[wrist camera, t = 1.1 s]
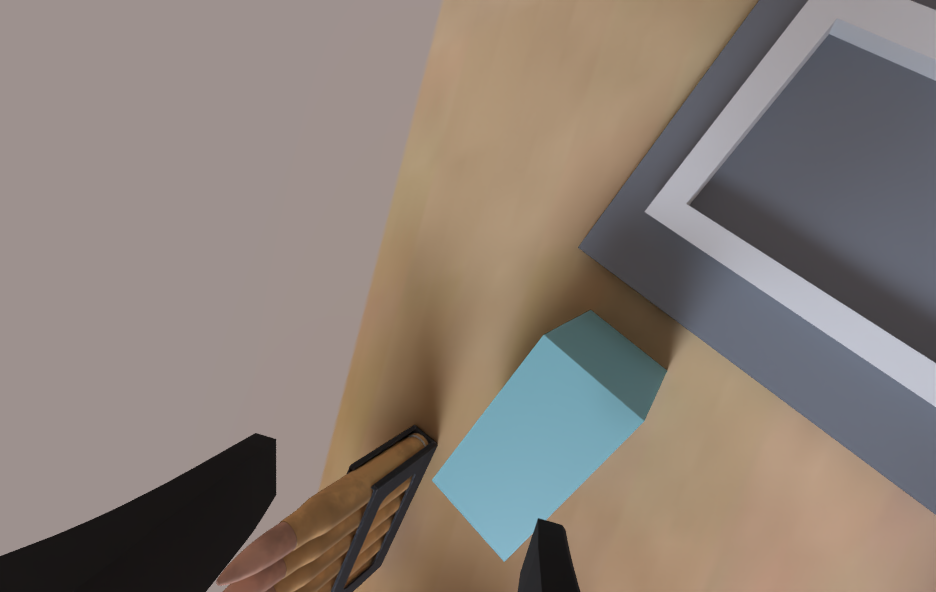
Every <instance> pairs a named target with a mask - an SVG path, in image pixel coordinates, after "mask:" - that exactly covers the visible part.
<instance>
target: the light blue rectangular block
mask: <svg viewBox="0 0 936 592" xmlns="http://www.w3.org/2000/svg"><path fill="white" fill-rule="evenodd" d="M666 372H667V370H666V369H664V368H663V367H662V366H661V365H659V364H658V363H657V362H656V361H654V360H653V359H652V358H651V357H649V356H648V355H647V354H646V353H644V352H643V351H642V350H641V349H639V348H638V347H637V346H636V345H634V344H633V343H632V342H630V341H629V340H628V339H627V338H625V337H624V336H623V335H622V334H620V333H619V332H618V331H617V330H615V329H614V328H613V327H612V326H610V325H609V324H608V323H607V322H605V321H604V320H603V319H602V318H600V317H599V316H598V315H597V314H595V313H594V312H593V311H592V310H589V311H588V312H586V313H584V314H582V315H580V316H578V317H576V318H574V319H572V320H571V321H569V322H567V323H565V324H563V325H561V326H559V327H557V328H555V329H553V330H552V331H550V332H548V333H546V334H544V335H543V336H542V338H541V339H540V340H539V341H538V343H537V344H536V345H535V347H534V348H533V349H532V351H531V352H530V353H529V354H528V356H527V357H526V358H525V360H524V361H523V362H522V364H521V365H520V366H519V367H518V369H517V370H516V371H515V373H514V374H513V375H512V377H511V378H510V379H509V380H508V382H507V383H506V384H505V386H504V387H503V388H502V390H501V391H500V392H499V393H498V395H497V396H496V397H495V399H494V400H493V401H492V403H491V404H490V405H489V406H488V408H487V409H486V410H485V412H484V413H483V414H482V416H481V417H480V418H479V419H478V421H477V422H476V423H475V425H474V426H473V427H472V429H471V430H470V431H469V432H468V434H467V435H466V436H465V438H464V439H463V440H462V442H461V443H460V444H459V446H458V447H457V448H456V449H455V451H454V452H453V453H452V455H451V456H450V457H449V459H448V460H447V461H446V462H445V464H444V465H443V466H442V468H441V469H440V470H439V472H438V473H437V474H436V475H435V477H434V478H433V479H432V481H433V482H434V483H435V484H436V486H437V487H438V488H439V489H440V490H441V491H442V492H443V493H444V495H445V496H446V497H447V498H448V499H449V500H450V501H451V502H452V504H453V505H454V506H455V507H456V508H457V509H458V510H459V511H460V513H461V514H462V515H463V516H464V517H465V518H466V519H467V520H468V522H469V523H470V524H471V525H472V526H473V527H474V528H475V529H476V531H477V532H478V533H479V534H480V535H481V536H482V537H483V539H484V540H485V541H486V542H487V543H488V544H489V545H490V546H491V548H492V549H493V550H494V551H495V552H496V553H497V554H498V555H499V557H500V558H501V559H502V560H503V561H504V562H505V561H506V560H507V559H508V558H509V557H510V556H511V555H512V554H513V553H514V551H515V550H516V549H517V548H518V547H519V546H520V545H521V544H522V543H523V542H524V541H525V540H526V539H527V538H528V537H529V536H530V535H531V534H532V533H533V532H534V529H535V526H536V523H537V520H538V518H540V519H543V520H546V519H547V518H548V517H549V516H550V515H551V514H552V513H553V512H554V511H555V510H556V509H557V508H558V507H559V506H560V505H561V504H562V503H563V502H564V501H565V500H566V499H567V498H568V497H569V496H570V495H571V494H572V493H573V492H574V491H575V490H576V489H577V488H578V487H579V486H580V485H581V484H582V483H583V482H584V481H585V480H586V479H587V478H588V477H589V476H590V475H591V474H592V473H593V472H594V471H595V470H596V469H597V468H598V467H599V466H600V465H601V464H602V463H603V462H604V461H605V460H606V459H607V458H608V457H609V456H610V455H611V454H612V453H613V452H614V451H615V450H616V449H617V448H618V447H619V446H620V445H621V444H622V443H623V442H624V441H625V440H626V439H627V438H628V437H629V436H630V435H631V434H632V433H633V432H634V431H635V430H636V429H637V428H638V427H639V426H640V425H641V424H642V423H643V422H644V421H645V418H646V416H647V414H648V412H649V410H650V407H651V405H652V403H653V401H654V399H655V396H656V394H657V392H658V390H659V387H660V385H661V383H662V381H663V379H664V376H665V374H666Z"/></svg>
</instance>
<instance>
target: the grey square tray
mask: <svg viewBox="0 0 936 592" xmlns="http://www.w3.org/2000/svg"><path fill="white" fill-rule="evenodd" d="M578 248H579V249H581V250H582V251H583V252H585V253H586V254H587V255H589V256H590V257H591V258H593V259H594V260H595V261H597V262H598V263H599V264H601V265H602V266H603V267H605V268H606V269H607V270H609V271H610V272H612V273H613V274H614V275H616V276H617V277H618V278H620V279H621V280H622V281H624V282H625V283H626V284H628V285H629V286H630V287H632V288H633V289H634V290H636V291H637V292H638V293H640V294H641V295H642V296H644V297H645V298H646V299H648V300H649V301H650V302H652V303H653V304H654V305H656V306H657V307H658V308H660V309H661V310H662V311H664V312H665V313H666V314H668V315H669V316H670V317H672V318H673V319H674V320H676V321H677V322H678V323H680V324H681V325H682V326H684V327H685V328H686V329H688V330H689V331H691V332H692V333H693V334H695V335H696V336H697V337H699V338H700V339H701V340H703V341H704V342H705V343H707V344H708V345H709V346H711V347H712V348H713V349H715V350H716V351H717V352H719V353H720V354H721V355H723V356H724V357H725V358H727V359H728V360H729V361H731V362H732V363H733V364H735V365H736V366H737V367H739V368H740V369H741V370H743V371H744V372H745V373H747V374H748V375H749V376H751V377H752V378H753V379H755V380H756V381H757V382H759V383H760V384H761V385H763V386H764V387H765V388H767V389H768V390H769V391H771V392H772V393H774V394H775V395H776V396H778V397H779V398H780V399H782V400H783V401H784V402H786V403H787V404H788V405H790V406H791V407H792V408H794V409H795V410H796V411H798V412H799V413H800V414H802V415H803V416H804V417H806V418H807V419H808V420H810V421H811V422H812V423H814V424H815V425H816V426H818V427H819V428H820V429H822V430H823V431H824V432H826V433H827V434H828V435H830V436H831V437H832V438H834V439H835V440H836V441H838V442H839V443H840V444H842V445H843V446H844V447H846V448H847V449H848V450H850V451H851V452H853V453H854V454H855V455H857V456H858V457H859V458H861V459H862V460H863V461H865V462H866V463H867V464H869V465H870V466H871V467H873V468H874V469H875V470H877V471H878V472H879V473H881V474H882V475H883V476H885V477H886V478H887V479H889V480H890V481H891V482H893V483H894V484H895V485H897V486H898V487H899V488H901V489H902V490H903V491H905V492H906V493H907V494H909V495H910V496H911V497H913V498H914V499H915V500H917V501H918V502H919V503H921V504H922V505H923V506H925V507H926V508H927V509H929V510H930V511H931V512H933V513H934V514H936V0H759V1H758V3H757V4H756V5H755V7H754V8H753V9H752V11H751V12H750V13H749V15H748V16H747V18H746V19H745V20H744V22H743V23H742V24H741V26H740V27H739V28H738V30H737V31H736V33H735V34H734V35H733V37H732V38H731V39H730V41H729V42H728V43H727V45H726V46H725V48H724V49H723V50H722V52H721V53H720V54H719V56H718V57H717V58H716V60H715V61H714V63H713V64H712V65H711V67H710V68H709V69H708V71H707V72H706V73H705V75H704V76H703V78H702V79H701V80H700V82H699V83H698V84H697V86H696V87H695V88H694V90H693V91H692V93H691V94H690V95H689V97H688V98H687V99H686V101H685V102H684V103H683V105H682V106H681V108H680V109H679V110H678V112H677V113H676V114H675V116H674V117H673V119H672V120H671V121H670V123H669V124H668V125H667V127H666V128H665V129H664V131H663V132H662V134H661V135H660V136H659V138H658V139H657V140H656V142H655V143H654V144H653V146H652V147H651V149H650V150H649V151H648V153H647V154H646V155H645V157H644V158H643V159H642V161H641V162H640V164H639V165H638V166H637V168H636V169H635V170H634V172H633V173H632V174H631V176H630V177H629V179H628V180H627V181H626V183H625V184H624V185H623V187H622V188H621V189H620V191H619V192H618V194H617V195H616V196H615V198H614V199H613V200H612V202H611V203H610V204H609V206H608V207H607V209H606V210H605V211H604V213H603V214H602V215H601V217H600V218H599V219H598V221H597V222H596V224H595V225H594V226H593V228H592V229H591V230H590V232H589V233H588V235H587V236H586V237H585V239H584V240H583V241H582V243H581V244H580V245H579V247H578Z"/></svg>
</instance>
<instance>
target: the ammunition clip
mask: <svg viewBox="0 0 936 592" xmlns="http://www.w3.org/2000/svg"><path fill="white" fill-rule="evenodd" d="M436 448H437V444H436V442H435V441H433V440H432V439H431V438H430V437H429V436H427V435H426V434H425V433H424V432H423V431H421V430H420V429H419V428H418V427H417V426H415V425H413V426H412V427H410V428H409V429H407V430H405V431H404V432H402V433H401V434H399V435H397V436H396V437H394V438H393V439H391V440H389V441H388V442H386V443H385V444H383V445H382V446H380V447H378V448H377V449H375V450H374V451H372V452H370V453H369V454H367V455H366V456H364V457H362V458H361V459H359V460H358V461H356V462H354V463H353V464H351V465H350V467H349V470H348V472H347V475H345V476H344V477H342V478H340V479H339V480H337V481H336V482H334V483H333V484H331V485H329V486H328V487H326V488H325V489H323V490H321V491H320V492H318V493H317V494H315V495H314V496H312V497H311V498H309V499H308V500H307V501H306V502H305V503H304V504H303V505H302V506H301V507H300V508H298V509H297V510H296V511H295V512H293V513H292V514H291V515H290V516H288V517H286V518H285V519H284V520H282V521H281V522H280V523H279V524H278V525H276V526H274V527H273V528H271V529H270V530H268V531H267V532H265V533H264V534H263V535H262V536H260V537H259V538H257V539H256V540H255V541H254V542H252V543H251V544H250V545H249V546H247V547H246V548H245V549H244V550H243V551H242V552H241V553H240V554H239V555H238V556H237V557H236V558H235V559H234V560H233V561H232V562H231V563H230V564H229V565H228V566H227V567H226V568H225V569H224V571H223V572H222V573H221V574H220V576H219V577H218V579H217V581H216V583H217V585H218V586H222V585H227V584H230V585H229V586H228V587H227V588H226V589H225V590H224V591H223V592H353V591H354V590H355V589H356V588H357V587H359V586H360V585H361V584H362V583H363V582H364V581H365V580H366V579H367V578H368V577H369V576H371V575H372V574H373V573H374V572H375V571H376V570H377V569H378V568H379V567H380V566H381V564H382V562H383V560H384V558H385V556H386V554H387V552H388V550H389V548H390V545H391V543H392V541H393V539H394V537H395V535H396V533H397V531H398V528H399V526H400V524H401V522H402V520H403V518H404V516H405V514H406V511H407V509H408V507H409V505H410V503H411V501H412V499H413V497H414V494H415V492H416V490H417V488H418V486H419V484H420V482H421V480H422V477H423V475H424V473H425V471H426V469H427V467H428V465H429V463H430V460H431V458H432V456H433V454H434V452H435V450H436Z"/></svg>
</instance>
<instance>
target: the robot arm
mask: <svg viewBox="0 0 936 592" xmlns="http://www.w3.org/2000/svg"><path fill="white" fill-rule="evenodd" d="M275 496H276V439H273V438H270V437H267V436H264V435H260V434H257V433H255V434H253V435H251V436H250V437H248V438H246V439H244V440H243V441H241V442H239V443H237V444H235V445H234V446H232V447H230V448H228V449H226V450H225V451H223V452H221V453H220V454H218V455H216V456H214V457H212V458H211V459H209V460H207V461H205V462H204V463H202V464H200V465H198V466H196V467H195V468H193V469H191V470H189V471H188V472H186V473H184V474H182V475H180V476H178V477H176V478H175V479H173V480H171V481H169V482H167V483H165V484H164V485H162V486H160V487H158V488H156V489H154V490H152V491H150V492H148V493H146V494H144V495H142V496H140V497H138V498H136V499H134V500H132V501H130V502H128V503H126V504H124V505H122V506H120V507H118V508H116V509H114V510H112V511H110V512H108V513H105V514H103V515H101V516H99V517H96V518H94V519H92V520H90V521H88V522H85V523H83V524H80V525H78V526H76V527H74V528H71V529H69V530H67V531H64V532H62V533H59V534H57V535H55V536H52V537H50V538H47V539H45V540H42V541H39V542H36V543H34V544H31V545H28V546H26V547H23V548H21V549H18V550H15V551H13V552H10V553H8V554H5V555H2V556H0V592H206V591H207V590H208V588H209V587H210V586H211V585H212V583H213V582H214V581H215V580H216V578H217V577H218V576H219V575H220V573H221V572H222V571H223V570H224V568H225V567H226V566H227V564H228V563H229V562H230V561H231V559H232V558H233V557H234V555H235V554H236V553H237V552H238V550H239V549H240V548H241V547H242V545H243V544H244V543H245V542H246V540H247V539H248V538H249V536H250V535H251V534H252V532H253V531H254V529H255V528H256V526H257V525H258V523H259V522H260V520H261V519H262V517H263V515H264V514H265V512H266V511H267V509H268V507H269V506H270V504H271V502H272V501H273V499H274V497H275ZM518 592H580V589H579V586H578V582H577V578H576V575H575V571H574V567H573V563H572V559H571V555H570V550H569V546H568V541H567V536H566V530H565V529H564V527H563V526H562V525H560V524H556V523H553V522H550V521H546V520H543V519H540V518H538V520H537V523H536V526H535V529H534V532H533V535H532V538H531V542H530V545H529V548H528V551H527V554H526V557H525V560H524V563H523V566H522V570H521V573H520V580H519V587H518Z"/></svg>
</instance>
